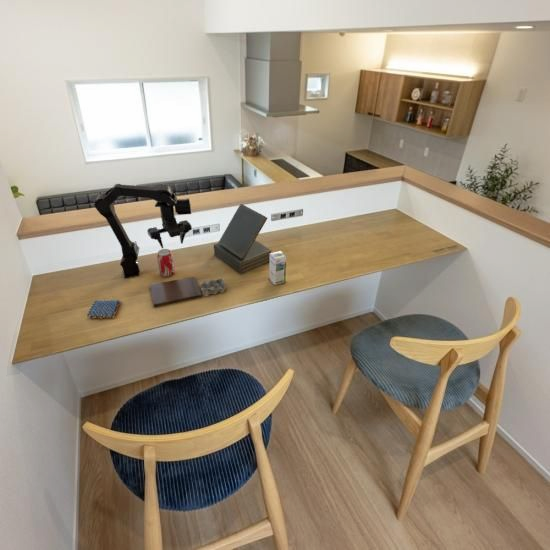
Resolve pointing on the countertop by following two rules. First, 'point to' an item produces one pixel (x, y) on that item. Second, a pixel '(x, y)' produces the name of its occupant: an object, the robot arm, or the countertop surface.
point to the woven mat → (104, 309)
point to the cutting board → (174, 291)
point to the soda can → (165, 262)
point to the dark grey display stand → (243, 241)
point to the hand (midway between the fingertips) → (172, 245)
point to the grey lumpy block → (212, 286)
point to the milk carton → (277, 267)
